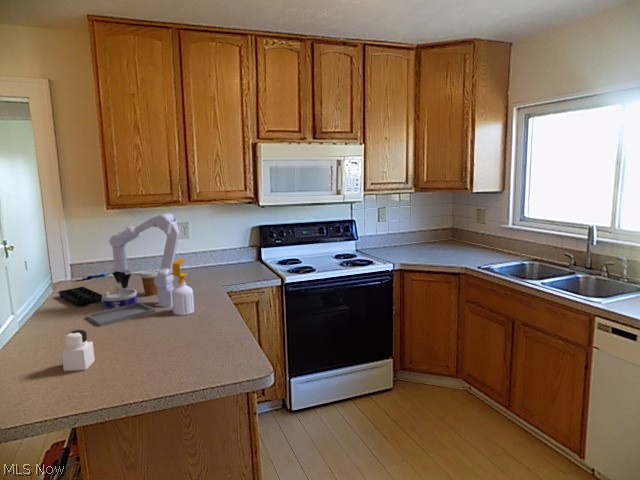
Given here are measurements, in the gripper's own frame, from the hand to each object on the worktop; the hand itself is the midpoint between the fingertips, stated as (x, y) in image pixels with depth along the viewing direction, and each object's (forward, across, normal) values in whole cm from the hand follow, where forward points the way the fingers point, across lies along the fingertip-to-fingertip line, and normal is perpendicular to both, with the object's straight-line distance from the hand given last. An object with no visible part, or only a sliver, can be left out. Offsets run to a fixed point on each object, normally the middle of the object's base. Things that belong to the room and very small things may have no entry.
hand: (122, 286), depth 213 cm
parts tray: (+9, +16, -8) cm, 20 cm away
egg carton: (+10, -27, -11) cm, 31 cm away
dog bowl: (+10, -2, -1) cm, 10 cm away
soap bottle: (+9, +34, +13) cm, 37 cm away
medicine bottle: (+9, +57, -39) cm, 70 cm away
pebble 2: (+1, 0, 0) cm, 1 cm away
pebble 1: (+3, -4, -3) cm, 6 cm away
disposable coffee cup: (+9, -7, +17) cm, 21 cm away
